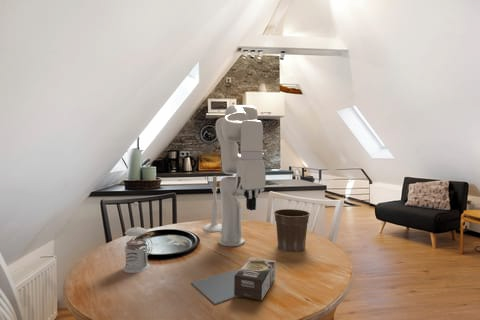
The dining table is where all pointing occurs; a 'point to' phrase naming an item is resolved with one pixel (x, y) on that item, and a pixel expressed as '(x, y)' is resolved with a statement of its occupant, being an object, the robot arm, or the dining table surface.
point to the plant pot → (291, 229)
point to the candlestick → (214, 211)
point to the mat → (217, 287)
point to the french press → (136, 251)
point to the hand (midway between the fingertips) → (251, 209)
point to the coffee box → (254, 278)
